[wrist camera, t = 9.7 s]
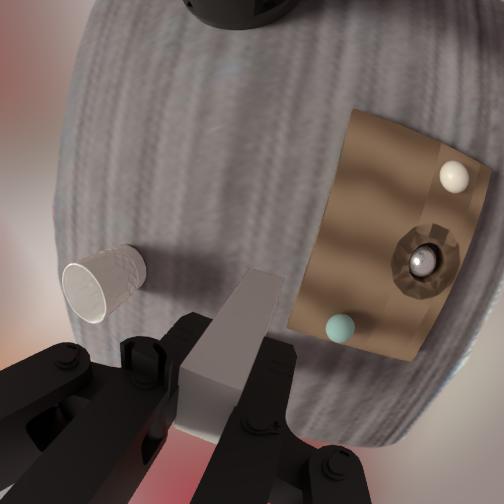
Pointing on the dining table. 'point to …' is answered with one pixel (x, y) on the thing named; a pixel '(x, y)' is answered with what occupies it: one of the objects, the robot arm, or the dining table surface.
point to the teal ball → (340, 328)
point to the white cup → (103, 281)
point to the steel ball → (422, 261)
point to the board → (388, 238)
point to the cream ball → (454, 177)
